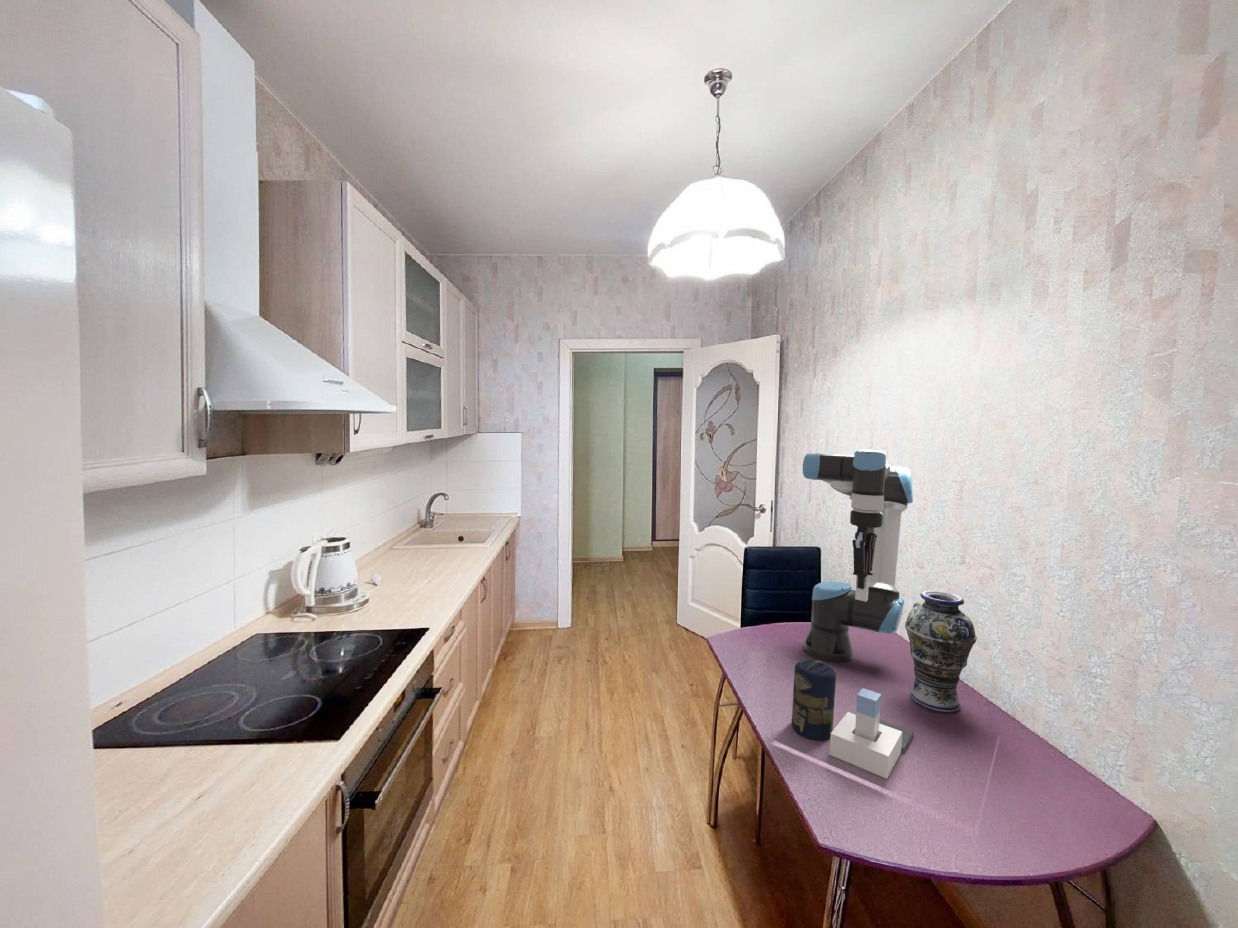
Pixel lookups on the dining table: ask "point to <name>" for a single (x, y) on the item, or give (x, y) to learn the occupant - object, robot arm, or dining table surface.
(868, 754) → the block
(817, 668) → the canister
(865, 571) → the robot arm
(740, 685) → the dining table surface
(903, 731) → the gray recessed square plate
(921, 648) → the vase
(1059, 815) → the dining table surface
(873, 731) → the plug
